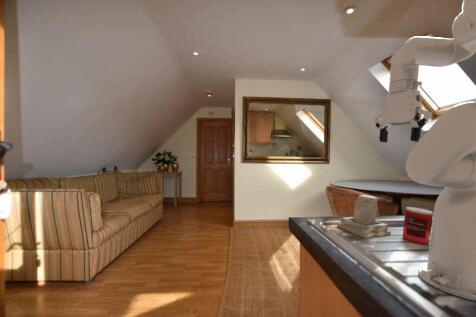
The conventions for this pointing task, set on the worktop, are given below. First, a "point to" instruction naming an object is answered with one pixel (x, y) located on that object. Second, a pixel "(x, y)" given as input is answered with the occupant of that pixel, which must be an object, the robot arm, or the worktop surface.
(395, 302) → the worktop surface
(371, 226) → the beige shallow tray
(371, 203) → the carving
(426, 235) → the canned food
